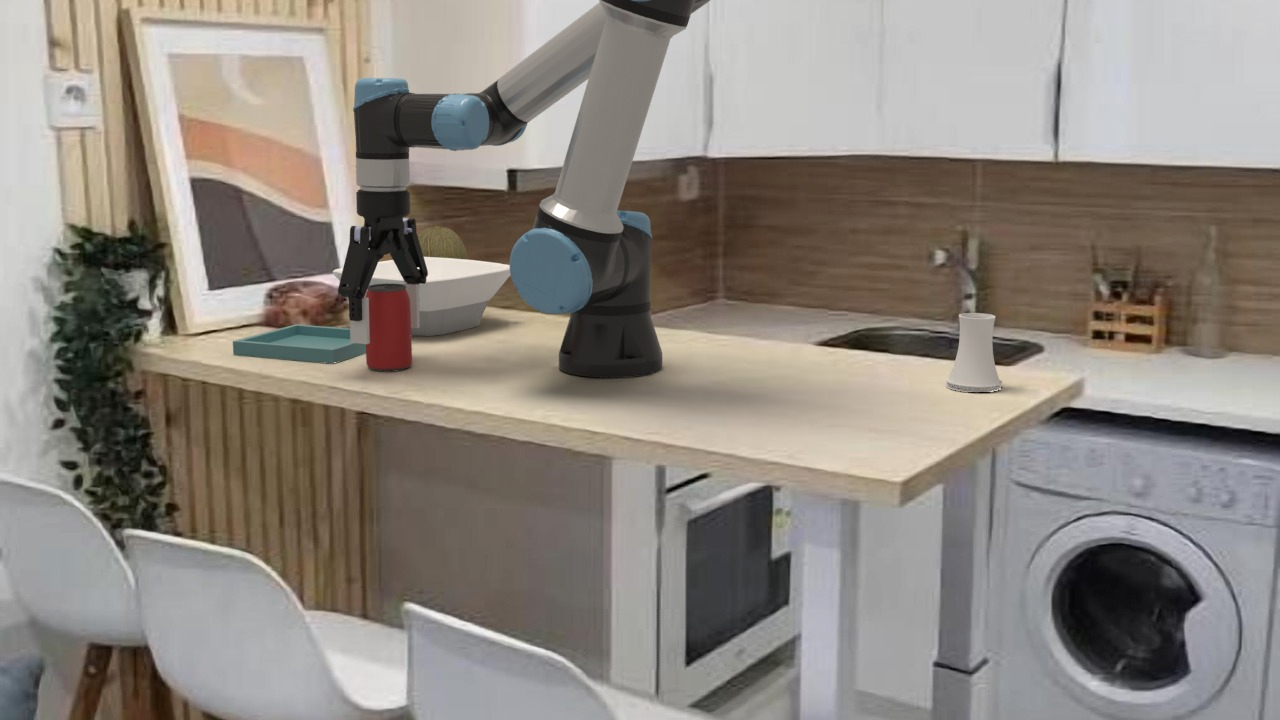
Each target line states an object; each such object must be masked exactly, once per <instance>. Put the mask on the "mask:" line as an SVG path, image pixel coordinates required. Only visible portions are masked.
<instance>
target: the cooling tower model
mask: <svg viewBox="0 0 1280 720" xmlns="http://www.w3.org/2000/svg"><path fill="white" fill-rule="evenodd" d="M958 320H959V339H958V341H959V342H958V347H957V352H956V357H955V360H954V362H953V367H952V368H951V371H950V374H949V375H948V376H947V377H946V378H945V382H946V383H945V385H946V386H945V387H946V388H947V387H948V388H947V389H949V390H951V389H952V390H951V391H955V390H956V391H957V392H960V391H961V392H962V393H968V392H990V391H992V390H993V391H994V390H997V389H998V390H999V388H1001V387H1002V384H1003V380H1001V379H1000V378H999V375H998V370H997V367H996V363H995V359H994V358H995V357H994V348H993V336H994V328H995V327H994V326H995V322H996V315H993V314H990V313H983V312H981V313H980V312H967V313H966V312H964V313H959V314H958ZM956 391H955V392H956ZM961 392H960V393H961Z"/></svg>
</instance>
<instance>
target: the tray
mask: <svg viewBox="0 0 1280 720" xmlns="http://www.w3.org/2000/svg"><path fill="white" fill-rule="evenodd" d="M232 351H233V356H243V357H255V358H265V359H274V358H276V360H277V359H278V360H287V361H297V362H307V361H311V362H310V363H318V362H323V363H322V364H329V363H334V362H338V361H341V362H343V361H342V360H344V361H347V360H350V359H353V358H356V357H359V356H362V355H366V344H360V343H350V328H346V327H334V326H322V325H321V326H320V325H310V324H309V325H308V324H298V323H296V324H292V325H291V324H290V325H288V326H284V327H280V328H276V329H274V330H269V331H265V332H262V333H258V334H254V335H251V336H247V337H244V338H243V337H242V338H241V339H235V340H232ZM346 359H347V360H346ZM324 362H326V363H324ZM338 363H339V362H338Z"/></svg>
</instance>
